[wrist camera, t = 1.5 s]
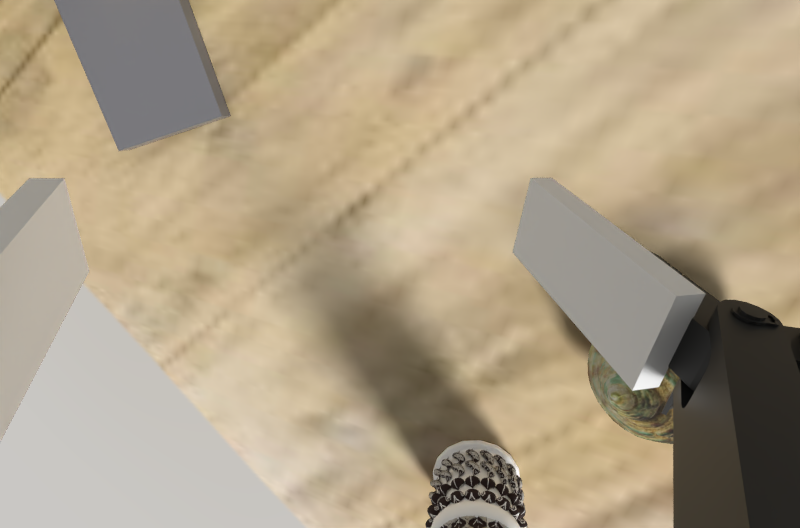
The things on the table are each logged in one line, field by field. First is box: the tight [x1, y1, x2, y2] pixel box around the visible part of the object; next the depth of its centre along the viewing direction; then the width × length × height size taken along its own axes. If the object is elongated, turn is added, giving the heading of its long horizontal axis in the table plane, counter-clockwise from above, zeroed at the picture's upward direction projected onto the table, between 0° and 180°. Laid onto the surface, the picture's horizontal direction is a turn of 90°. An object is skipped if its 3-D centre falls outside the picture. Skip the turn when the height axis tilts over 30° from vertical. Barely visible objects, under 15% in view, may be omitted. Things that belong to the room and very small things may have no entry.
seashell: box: [588, 345, 679, 444], centre depth 37 cm, size 11×11×10 cm
